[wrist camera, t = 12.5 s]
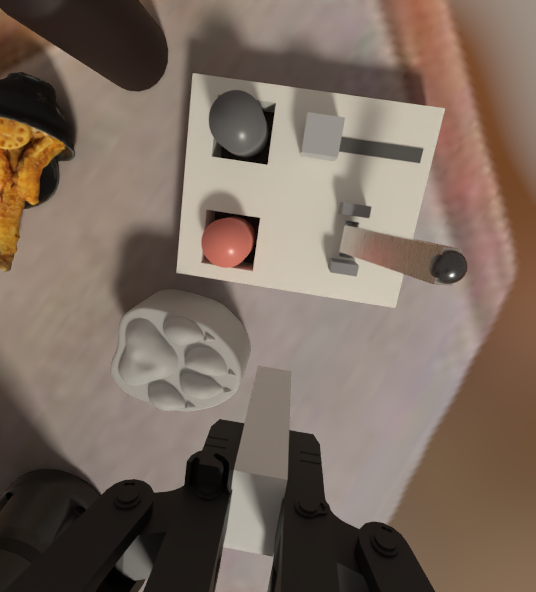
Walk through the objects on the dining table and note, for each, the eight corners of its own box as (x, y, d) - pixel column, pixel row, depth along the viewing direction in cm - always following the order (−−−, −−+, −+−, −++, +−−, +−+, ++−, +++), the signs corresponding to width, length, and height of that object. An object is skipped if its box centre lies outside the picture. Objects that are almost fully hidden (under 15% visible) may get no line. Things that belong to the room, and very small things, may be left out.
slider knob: (300, 156, 33) (301, 152, 30) (306, 120, 32) (307, 112, 29) (334, 161, 33) (337, 157, 30) (340, 125, 32) (345, 117, 29)
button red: (212, 255, 39) (199, 263, 34) (216, 213, 38) (203, 215, 32) (252, 261, 39) (246, 271, 33) (258, 219, 38) (252, 222, 32)
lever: (331, 254, 33) (442, 295, 22) (338, 219, 33) (457, 243, 21) (351, 256, 34) (467, 296, 23) (358, 222, 34) (482, 246, 22)
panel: (187, 265, 40) (168, 277, 34) (203, 86, 36) (184, 62, 30) (385, 297, 40) (402, 315, 33) (428, 118, 35) (457, 101, 29)
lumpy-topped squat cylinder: (152, 280, 41) (116, 300, 33) (262, 314, 41) (253, 343, 33) (135, 360, 44) (97, 397, 36) (237, 392, 44) (223, 437, 36)
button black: (219, 154, 35) (205, 146, 30) (225, 104, 34) (211, 86, 28) (265, 161, 35) (259, 154, 29) (271, 111, 34) (267, 94, 28)
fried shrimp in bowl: (78, 72, 32) (42, 273, 31) (90, 127, 42) (64, 280, 41) (-51, 29, 29) (-96, 252, 28) (-4, 100, 39) (-35, 265, 38)
